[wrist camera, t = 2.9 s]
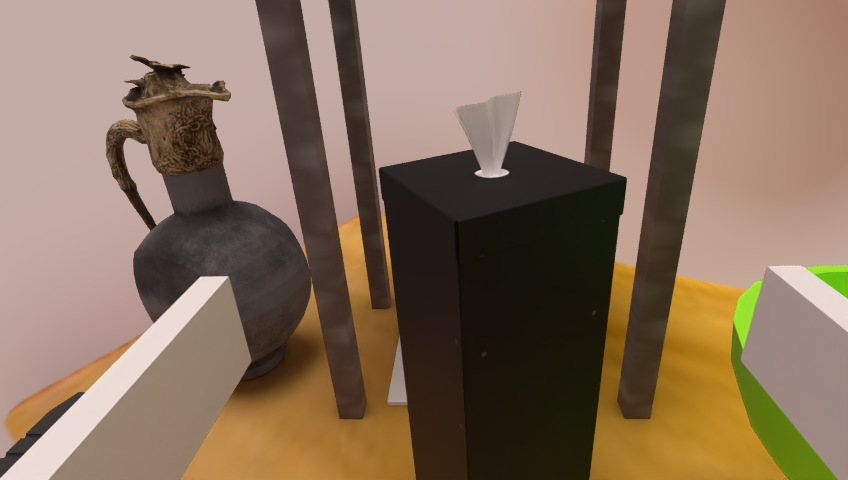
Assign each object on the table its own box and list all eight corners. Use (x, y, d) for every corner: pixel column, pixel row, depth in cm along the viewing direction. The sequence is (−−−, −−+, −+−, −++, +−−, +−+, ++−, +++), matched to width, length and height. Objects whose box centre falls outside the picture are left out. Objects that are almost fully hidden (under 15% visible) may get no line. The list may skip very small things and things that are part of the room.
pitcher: (268, 416, 42) (163, 56, 29) (133, 364, 50) (4, 64, 37) (339, 344, 51) (283, 42, 38) (214, 309, 59) (133, 51, 46)
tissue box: (417, 506, 33) (369, 97, 21) (511, 461, 36) (515, 76, 24) (474, 622, 27) (451, 125, 15) (583, 556, 29) (639, 92, 17)
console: (590, 291, 56) (626, -92, 40) (652, 423, 38) (763, -177, 22) (375, 297, 59) (326, -63, 42) (338, 423, 41) (227, -118, 24)
